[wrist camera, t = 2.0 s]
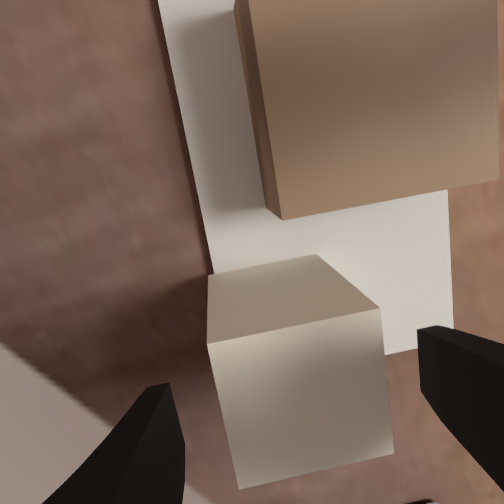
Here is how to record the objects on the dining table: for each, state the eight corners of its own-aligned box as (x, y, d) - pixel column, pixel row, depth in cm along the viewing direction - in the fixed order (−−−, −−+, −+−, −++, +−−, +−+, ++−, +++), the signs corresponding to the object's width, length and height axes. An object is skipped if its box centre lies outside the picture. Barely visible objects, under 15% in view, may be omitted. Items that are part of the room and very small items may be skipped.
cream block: (329, 351, 17) (394, 453, 11) (228, 373, 16) (239, 489, 10) (316, 253, 15) (380, 308, 10) (208, 275, 15) (206, 344, 9)
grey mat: (448, 336, 17) (454, 340, 17) (237, 381, 17) (237, 386, 16) (429, -64, 14) (435, -70, 13) (153, -24, 13) (151, -30, 13)
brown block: (434, 176, 15) (499, 179, 12) (265, 207, 15) (282, 220, 11) (424, -20, 14) (496, -81, 10) (233, 10, 13) (241, -45, 10)
